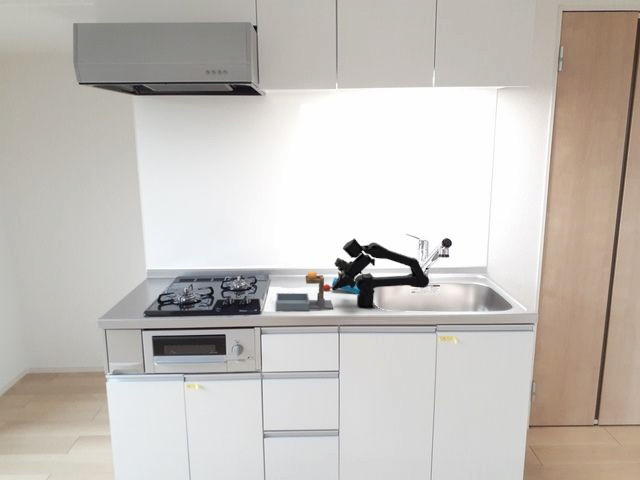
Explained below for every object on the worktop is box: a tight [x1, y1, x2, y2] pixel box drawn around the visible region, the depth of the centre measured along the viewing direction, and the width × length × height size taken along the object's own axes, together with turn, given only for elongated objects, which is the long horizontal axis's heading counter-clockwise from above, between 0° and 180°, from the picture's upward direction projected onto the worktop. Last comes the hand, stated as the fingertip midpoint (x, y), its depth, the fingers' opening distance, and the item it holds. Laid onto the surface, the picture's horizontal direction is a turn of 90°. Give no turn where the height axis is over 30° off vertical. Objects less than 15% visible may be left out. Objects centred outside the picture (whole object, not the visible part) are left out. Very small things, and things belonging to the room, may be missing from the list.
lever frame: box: [309, 292, 334, 311], centre depth 204 cm, size 10×10×4 cm
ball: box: [307, 270, 318, 279], centre depth 202 cm, size 4×4×4 cm
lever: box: [324, 277, 360, 295], centre depth 227 cm, size 7×7×18 cm
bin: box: [275, 292, 310, 312], centre depth 203 cm, size 14×14×4 cm
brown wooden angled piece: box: [305, 274, 325, 298], centre depth 203 cm, size 8×7×11 cm
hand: (332, 289), depth 203 cm, fingers closed
